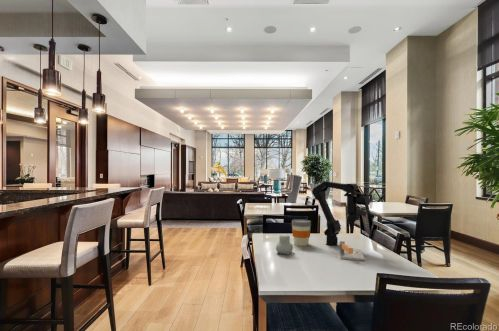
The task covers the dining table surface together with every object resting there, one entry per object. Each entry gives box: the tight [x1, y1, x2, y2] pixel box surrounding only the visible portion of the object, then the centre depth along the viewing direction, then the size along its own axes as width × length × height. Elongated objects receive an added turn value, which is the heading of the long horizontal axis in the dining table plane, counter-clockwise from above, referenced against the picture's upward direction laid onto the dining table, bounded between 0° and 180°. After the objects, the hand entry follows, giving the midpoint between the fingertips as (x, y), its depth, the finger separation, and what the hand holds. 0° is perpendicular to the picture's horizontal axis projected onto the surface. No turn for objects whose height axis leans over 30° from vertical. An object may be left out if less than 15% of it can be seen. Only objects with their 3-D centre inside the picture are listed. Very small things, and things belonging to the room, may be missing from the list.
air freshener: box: [275, 233, 294, 255], centre depth 163 cm, size 11×8×10 cm
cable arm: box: [339, 240, 354, 254], centre depth 157 cm, size 13×3×4 cm, turn 5°
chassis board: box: [339, 247, 366, 262], centre depth 160 cm, size 12×20×3 cm, turn 163°
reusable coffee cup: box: [291, 218, 312, 247], centre depth 184 cm, size 13×13×15 cm
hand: (351, 229), depth 173 cm, fingers closed
